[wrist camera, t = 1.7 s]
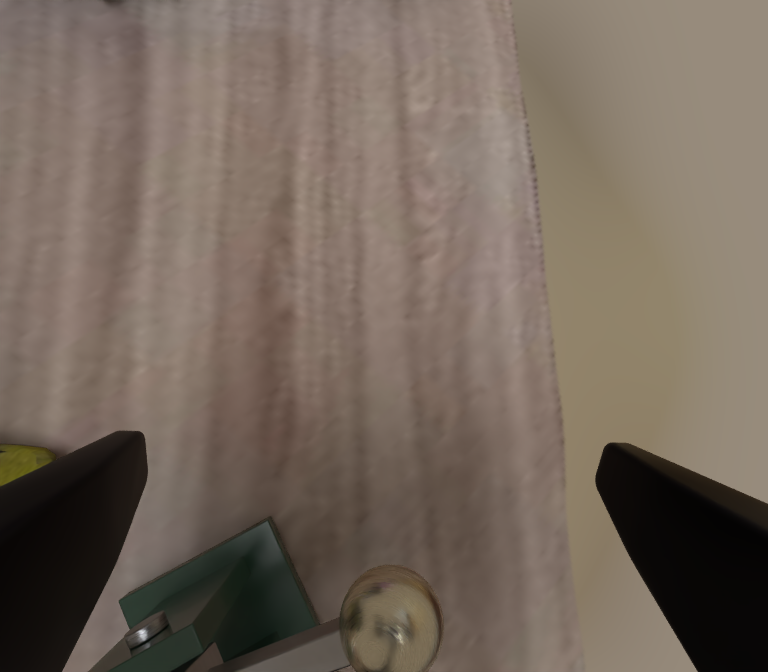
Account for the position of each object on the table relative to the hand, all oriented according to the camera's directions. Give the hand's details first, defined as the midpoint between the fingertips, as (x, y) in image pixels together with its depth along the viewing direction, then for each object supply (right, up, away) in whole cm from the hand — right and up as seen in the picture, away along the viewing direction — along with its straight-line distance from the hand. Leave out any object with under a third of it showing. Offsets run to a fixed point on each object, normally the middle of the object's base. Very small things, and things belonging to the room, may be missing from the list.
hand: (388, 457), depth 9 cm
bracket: (-8, -12, +15) cm, 21 cm away
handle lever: (-3, -9, +8) cm, 12 cm away
